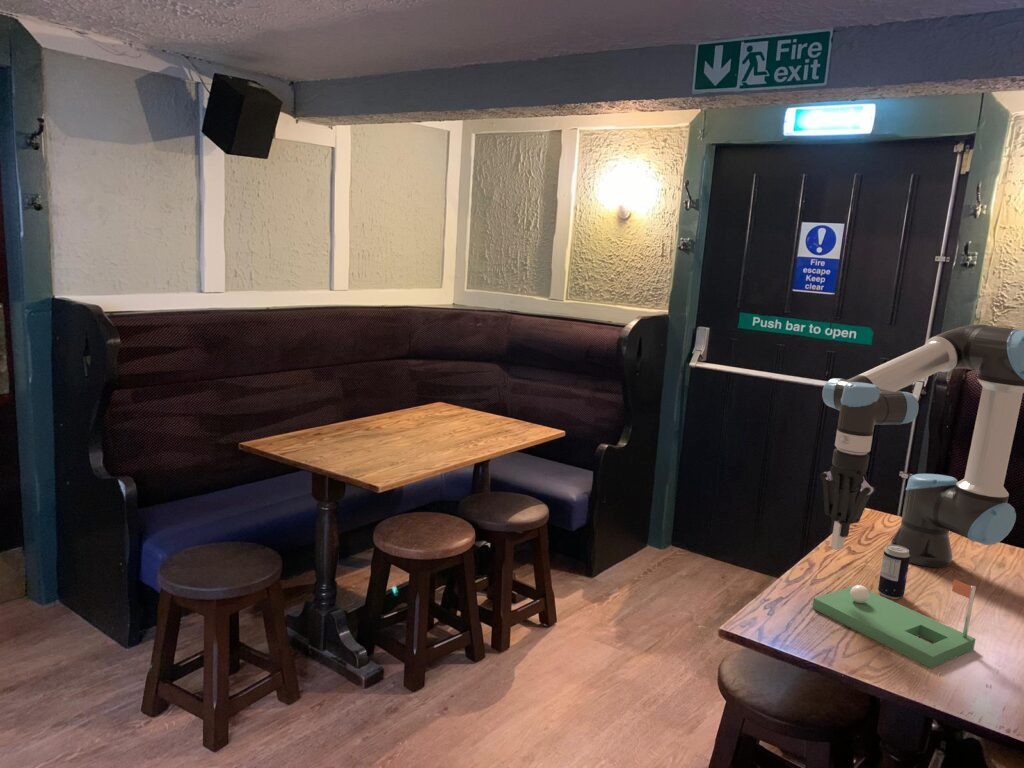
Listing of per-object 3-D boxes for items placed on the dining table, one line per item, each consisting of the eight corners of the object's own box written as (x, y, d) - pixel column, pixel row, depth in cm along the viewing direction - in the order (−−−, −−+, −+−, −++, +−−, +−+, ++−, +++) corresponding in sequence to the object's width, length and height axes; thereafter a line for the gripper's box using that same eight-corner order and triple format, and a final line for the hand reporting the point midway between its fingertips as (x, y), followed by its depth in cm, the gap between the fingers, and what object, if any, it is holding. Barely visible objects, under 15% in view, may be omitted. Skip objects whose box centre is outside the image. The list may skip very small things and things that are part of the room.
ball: (856, 596, 180) (858, 580, 179) (871, 604, 177) (874, 587, 176) (845, 600, 178) (847, 584, 177) (861, 607, 175) (863, 591, 174)
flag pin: (944, 638, 168) (955, 578, 165) (965, 648, 164) (976, 586, 162) (942, 639, 167) (953, 579, 165) (963, 649, 164) (974, 587, 161)
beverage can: (906, 602, 185) (914, 554, 183) (880, 598, 186) (888, 551, 184) (899, 591, 190) (907, 545, 188) (874, 588, 191) (882, 542, 189)
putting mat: (855, 594, 187) (856, 585, 187) (973, 649, 164) (975, 638, 163) (812, 608, 179) (813, 598, 178) (930, 668, 156) (932, 656, 155)
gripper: (817, 444, 180) (803, 540, 185) (867, 459, 169) (851, 561, 174) (837, 441, 184) (823, 535, 189) (888, 456, 173) (872, 556, 178)
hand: (836, 547), depth 181 cm, fingers closed
